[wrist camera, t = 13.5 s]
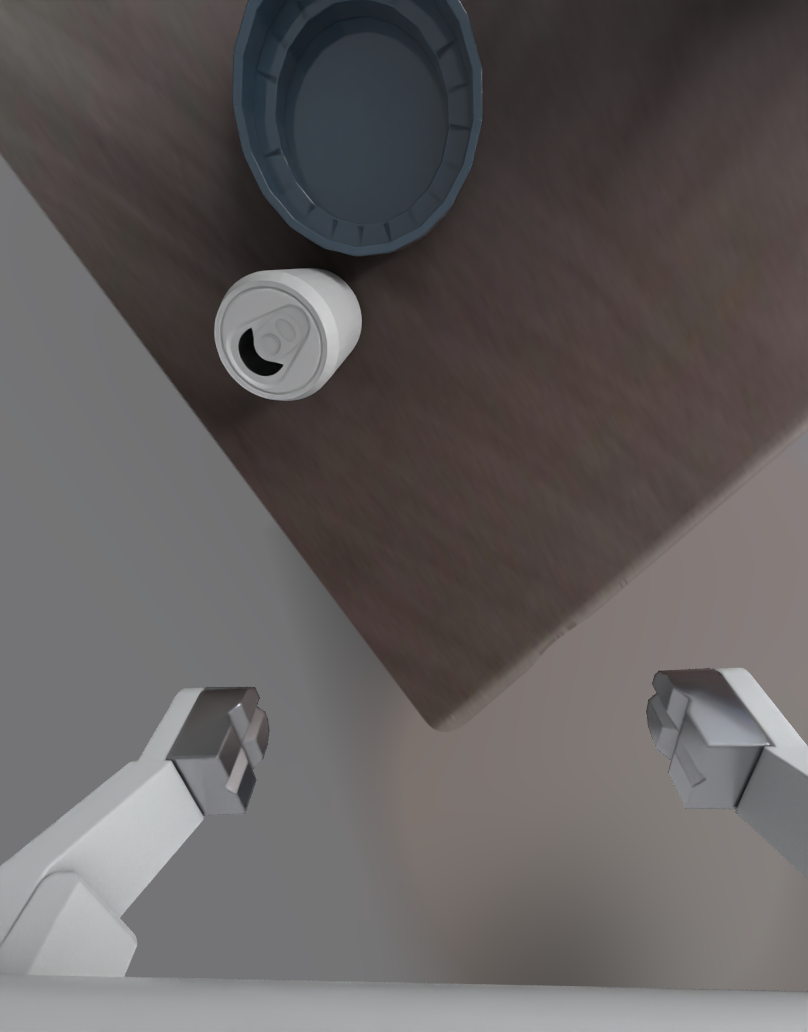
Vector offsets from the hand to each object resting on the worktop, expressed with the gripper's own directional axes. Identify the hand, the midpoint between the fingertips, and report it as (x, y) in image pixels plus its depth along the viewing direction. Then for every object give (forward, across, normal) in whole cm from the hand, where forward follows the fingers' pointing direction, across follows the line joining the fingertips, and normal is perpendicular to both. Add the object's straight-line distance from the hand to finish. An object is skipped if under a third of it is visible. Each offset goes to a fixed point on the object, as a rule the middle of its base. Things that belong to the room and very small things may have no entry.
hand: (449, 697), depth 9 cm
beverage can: (+29, +8, -5) cm, 31 cm away
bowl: (+29, +3, -15) cm, 33 cm away
